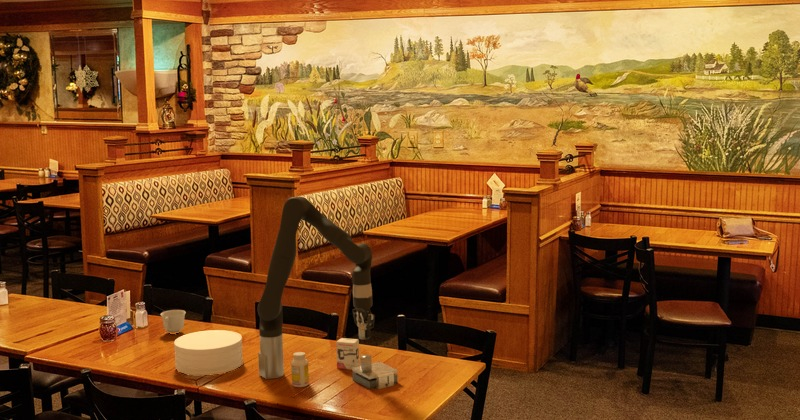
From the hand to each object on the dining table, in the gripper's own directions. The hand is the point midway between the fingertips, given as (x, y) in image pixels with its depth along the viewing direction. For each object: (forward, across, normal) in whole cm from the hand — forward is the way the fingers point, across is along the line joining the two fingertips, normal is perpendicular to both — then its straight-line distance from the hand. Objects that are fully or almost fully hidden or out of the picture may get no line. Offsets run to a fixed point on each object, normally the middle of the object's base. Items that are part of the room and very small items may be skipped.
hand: (364, 336), depth 334 cm
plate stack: (+17, -57, -44) cm, 74 cm away
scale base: (+19, +3, +3) cm, 19 cm away
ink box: (+18, -19, +2) cm, 27 cm away
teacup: (+16, -112, -41) cm, 120 cm away
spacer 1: (+1, 0, 0) cm, 1 cm away
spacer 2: (+13, +2, -1) cm, 14 cm away
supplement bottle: (+18, -12, -24) cm, 32 cm away
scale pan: (+15, +2, +3) cm, 16 cm away
